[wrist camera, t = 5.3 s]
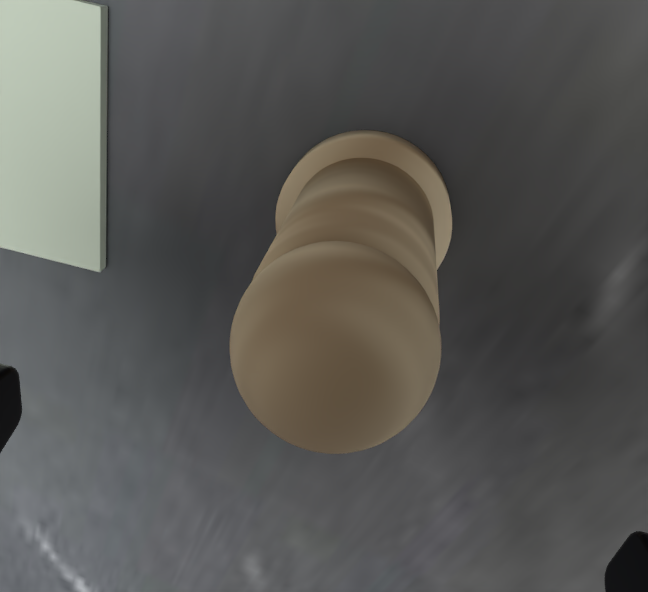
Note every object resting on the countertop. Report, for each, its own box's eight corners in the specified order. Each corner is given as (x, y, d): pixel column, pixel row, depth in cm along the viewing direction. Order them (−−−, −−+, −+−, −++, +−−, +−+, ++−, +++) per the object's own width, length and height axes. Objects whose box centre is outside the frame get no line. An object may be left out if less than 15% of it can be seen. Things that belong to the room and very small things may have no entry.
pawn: (474, 153, 16) (529, 326, 8) (422, 305, 18) (426, 549, 10) (298, 111, 16) (181, 239, 8) (270, 267, 18) (161, 480, 10)
